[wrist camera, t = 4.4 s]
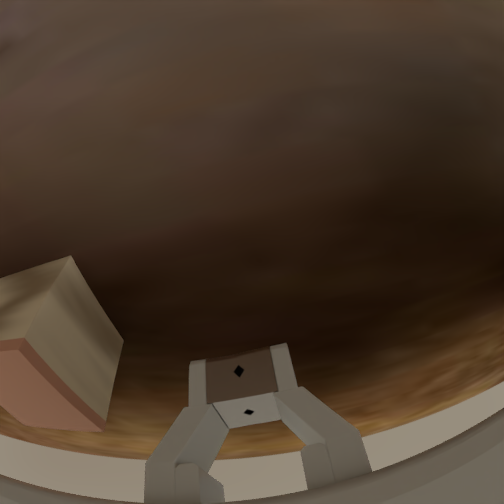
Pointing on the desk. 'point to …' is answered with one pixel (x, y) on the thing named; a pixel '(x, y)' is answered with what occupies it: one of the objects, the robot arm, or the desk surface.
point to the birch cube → (56, 349)
